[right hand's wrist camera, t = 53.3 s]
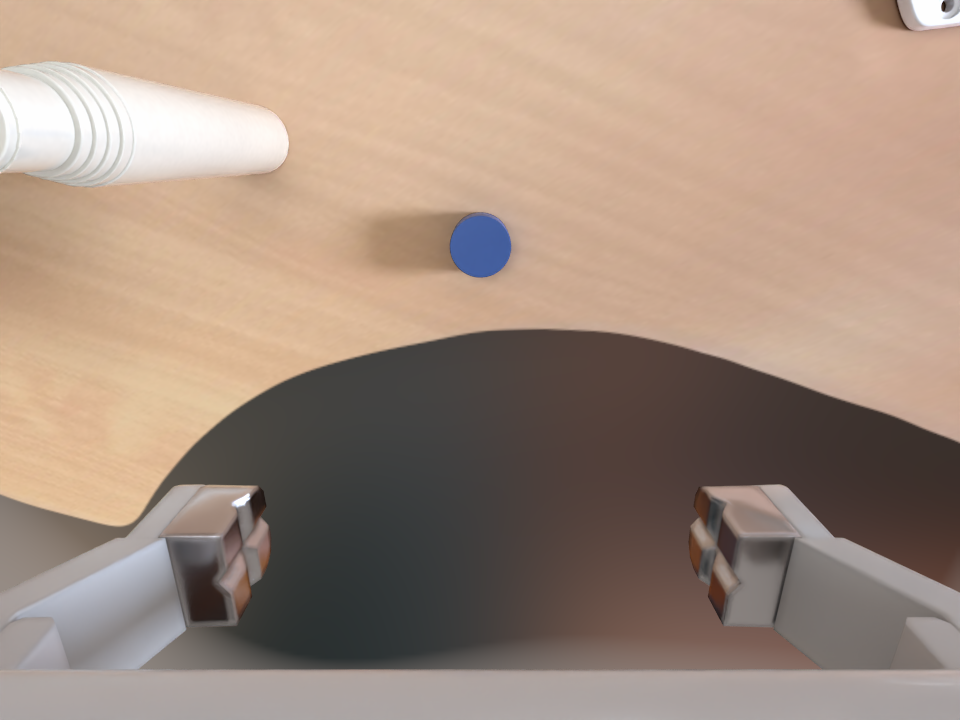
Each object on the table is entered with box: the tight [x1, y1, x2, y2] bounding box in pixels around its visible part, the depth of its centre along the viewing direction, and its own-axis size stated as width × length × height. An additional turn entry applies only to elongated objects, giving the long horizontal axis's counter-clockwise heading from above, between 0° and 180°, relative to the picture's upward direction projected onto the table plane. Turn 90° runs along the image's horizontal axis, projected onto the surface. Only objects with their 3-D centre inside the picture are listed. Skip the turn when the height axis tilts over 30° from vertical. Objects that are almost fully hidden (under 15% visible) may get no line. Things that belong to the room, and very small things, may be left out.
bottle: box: [0, 61, 289, 188], centre depth 29 cm, size 5×5×25 cm
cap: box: [450, 212, 511, 277], centre depth 42 cm, size 4×4×3 cm
